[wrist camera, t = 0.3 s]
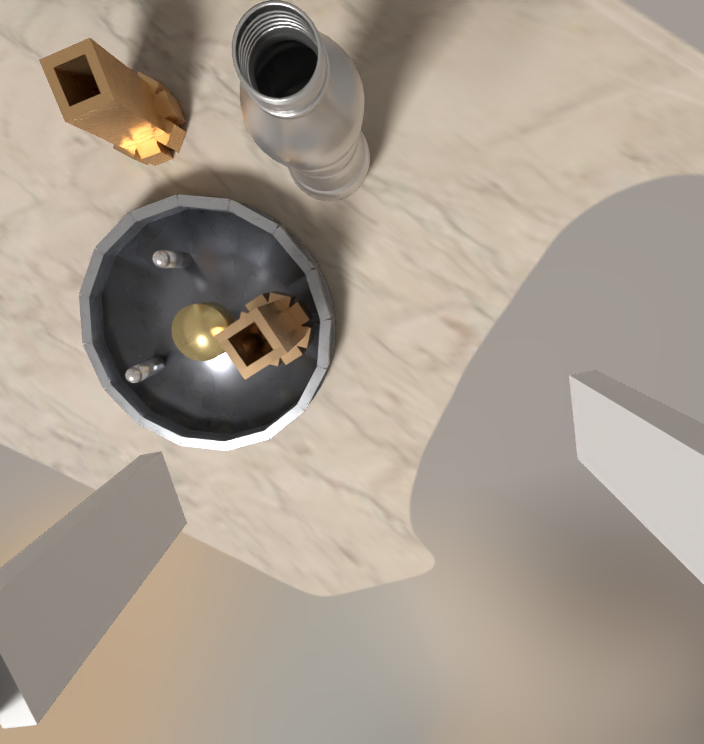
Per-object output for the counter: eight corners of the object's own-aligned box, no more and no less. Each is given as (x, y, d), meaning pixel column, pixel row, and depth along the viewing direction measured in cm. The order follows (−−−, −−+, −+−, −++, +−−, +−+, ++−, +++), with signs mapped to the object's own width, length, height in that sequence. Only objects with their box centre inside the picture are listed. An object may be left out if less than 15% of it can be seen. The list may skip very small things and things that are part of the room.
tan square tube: (233, 315, 39) (190, 330, 30) (288, 278, 38) (260, 283, 29) (271, 371, 40) (241, 401, 31) (326, 337, 39) (310, 358, 30)
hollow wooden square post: (103, 99, 36) (15, 46, 27) (167, 72, 35) (98, 9, 27) (132, 173, 38) (57, 146, 29) (195, 149, 37) (138, 113, 28)
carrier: (59, 245, 40) (4, 242, 34) (288, 161, 36) (270, 142, 31) (156, 462, 44) (123, 491, 39) (366, 405, 41) (363, 427, 36)
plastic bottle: (306, 111, 35) (216, -74, 16) (382, 140, 36) (383, -10, 16) (283, 189, 37) (176, 107, 18) (356, 216, 37) (328, 164, 18)
